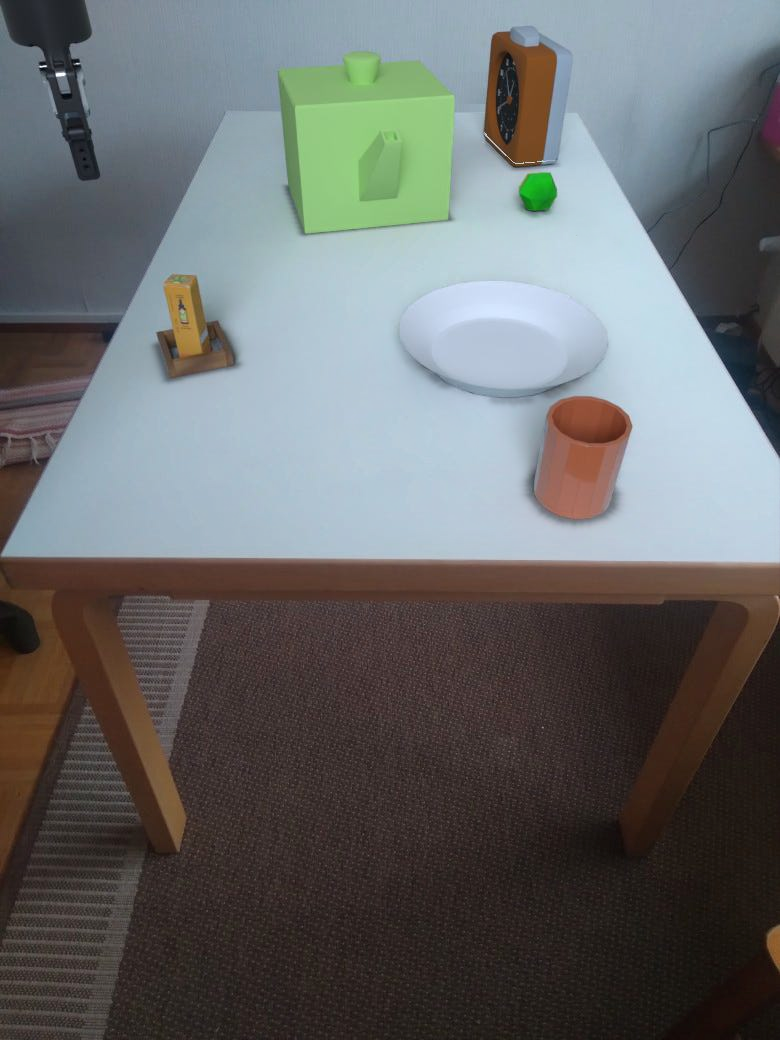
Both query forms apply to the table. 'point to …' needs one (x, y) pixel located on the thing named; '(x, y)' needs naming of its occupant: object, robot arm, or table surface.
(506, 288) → the white plate
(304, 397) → the table surface
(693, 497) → the table surface
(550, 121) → the alarm clock
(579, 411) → the cup
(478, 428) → the table surface
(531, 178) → the green faceted polyhedron
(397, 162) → the teapot
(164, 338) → the wooden frame
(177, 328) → the supplement box
